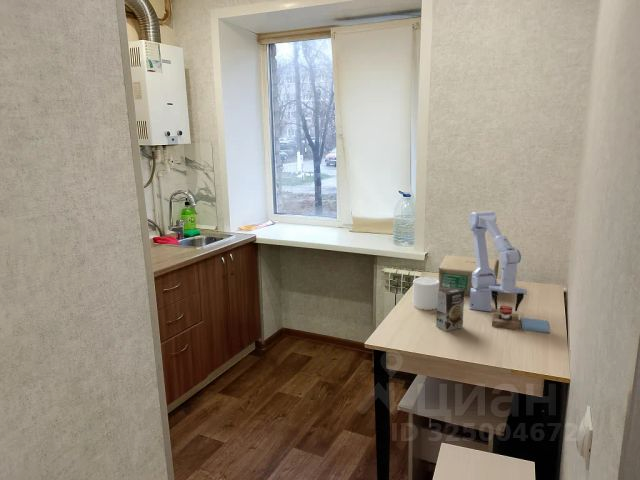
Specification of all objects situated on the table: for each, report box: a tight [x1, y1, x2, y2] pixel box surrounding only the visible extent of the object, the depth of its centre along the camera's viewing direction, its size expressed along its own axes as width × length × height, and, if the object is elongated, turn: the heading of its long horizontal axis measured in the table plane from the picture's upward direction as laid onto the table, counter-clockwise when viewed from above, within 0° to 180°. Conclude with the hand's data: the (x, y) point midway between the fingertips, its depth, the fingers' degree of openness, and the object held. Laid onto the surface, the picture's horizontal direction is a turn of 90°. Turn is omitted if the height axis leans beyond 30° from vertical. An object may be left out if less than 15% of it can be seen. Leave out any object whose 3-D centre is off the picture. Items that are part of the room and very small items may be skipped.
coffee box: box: [435, 287, 465, 332], centre depth 190 cm, size 9×6×16 cm
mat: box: [520, 317, 550, 334], centre depth 191 cm, size 10×12×1 cm
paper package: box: [438, 254, 500, 297], centre depth 236 cm, size 27×26×14 cm
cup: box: [412, 276, 439, 311], centre depth 214 cm, size 12×12×12 cm
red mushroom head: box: [499, 304, 513, 320], centre depth 193 cm, size 5×5×7 cm
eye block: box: [491, 311, 520, 330], centre depth 194 cm, size 10×10×2 cm
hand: (506, 309), depth 193 cm, fingers open, 7 cm apart
